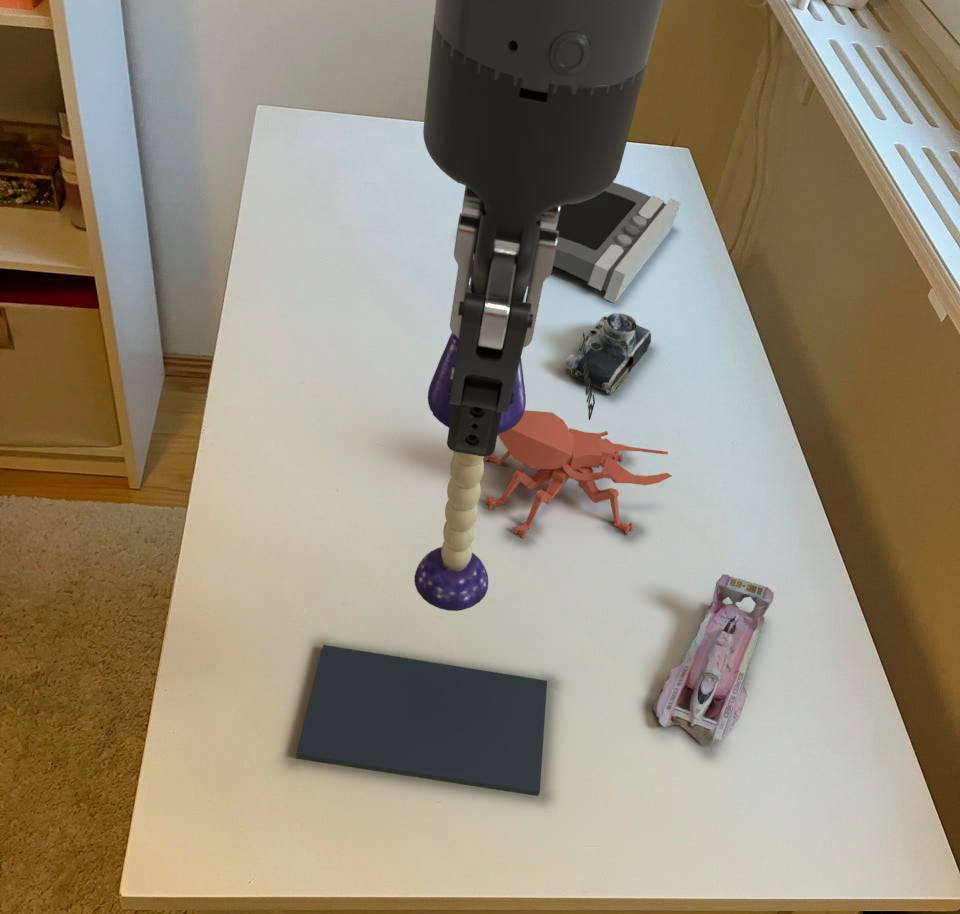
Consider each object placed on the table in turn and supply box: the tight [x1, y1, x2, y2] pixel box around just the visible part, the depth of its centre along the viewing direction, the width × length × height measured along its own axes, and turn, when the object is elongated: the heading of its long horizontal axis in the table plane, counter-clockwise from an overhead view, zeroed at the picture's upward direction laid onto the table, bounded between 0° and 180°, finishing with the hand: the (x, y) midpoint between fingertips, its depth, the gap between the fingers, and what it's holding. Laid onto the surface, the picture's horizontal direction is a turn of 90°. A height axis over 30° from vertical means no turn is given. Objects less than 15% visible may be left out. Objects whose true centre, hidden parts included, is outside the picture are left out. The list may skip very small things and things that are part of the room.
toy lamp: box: [413, 332, 527, 612], centre depth 51 cm, size 5×5×17 cm
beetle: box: [483, 331, 673, 539], centre depth 79 cm, size 15×12×13 cm
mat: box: [296, 644, 548, 797], centre depth 68 cm, size 16×9×1 cm, turn 84°
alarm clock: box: [553, 181, 682, 304], centre depth 106 cm, size 17×5×16 cm
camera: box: [564, 312, 652, 395], centre depth 93 cm, size 5×10×4 cm, turn 150°
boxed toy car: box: [652, 574, 774, 747], centre depth 72 cm, size 13×6×4 cm, turn 155°
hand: (475, 411), depth 47 cm, fingers closed on toy lamp, 4 cm apart
